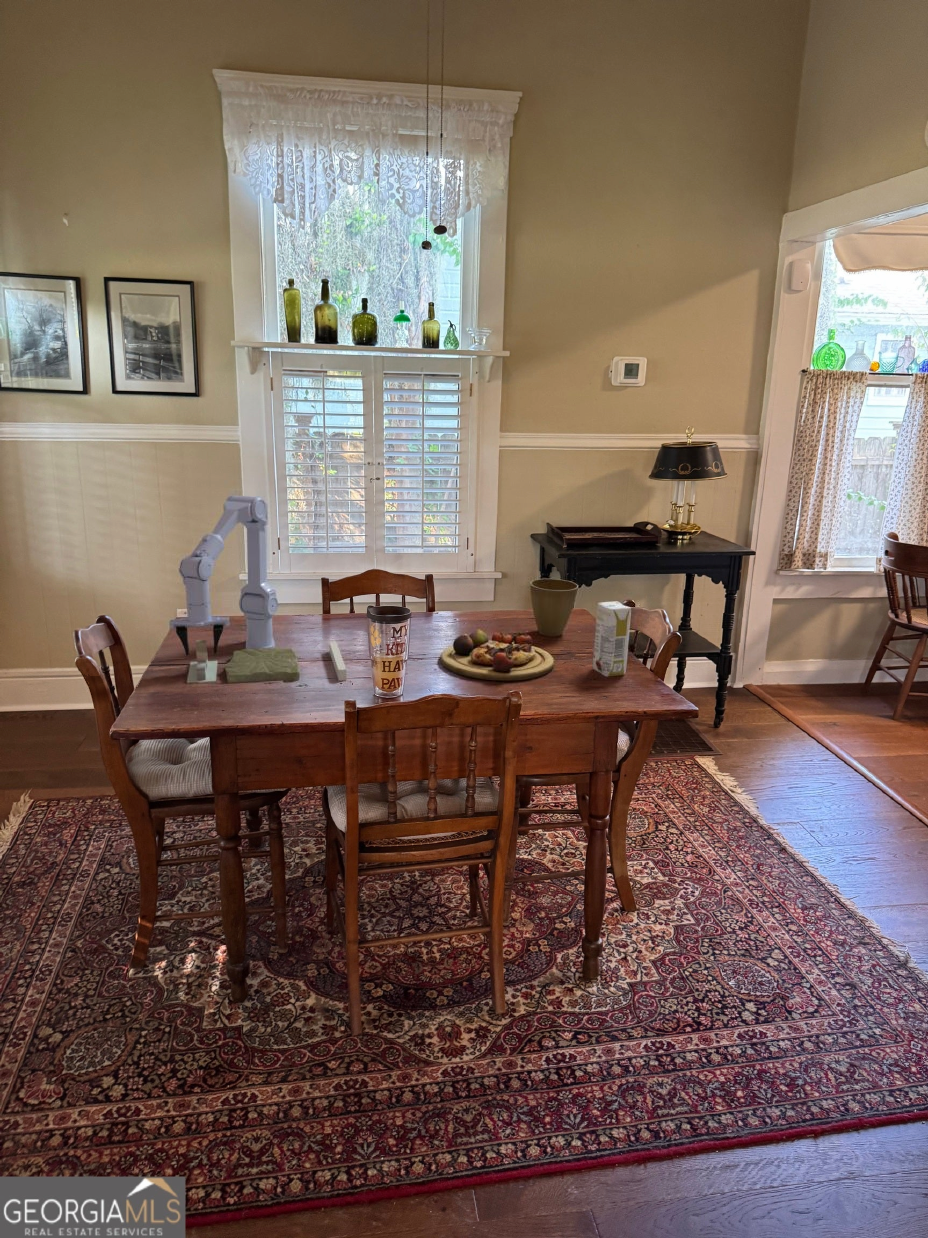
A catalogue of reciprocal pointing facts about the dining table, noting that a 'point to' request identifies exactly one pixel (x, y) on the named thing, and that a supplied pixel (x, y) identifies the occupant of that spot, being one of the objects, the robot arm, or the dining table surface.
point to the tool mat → (209, 675)
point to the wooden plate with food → (496, 657)
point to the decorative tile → (263, 665)
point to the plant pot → (552, 604)
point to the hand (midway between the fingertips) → (201, 653)
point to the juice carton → (611, 638)
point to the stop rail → (337, 661)
